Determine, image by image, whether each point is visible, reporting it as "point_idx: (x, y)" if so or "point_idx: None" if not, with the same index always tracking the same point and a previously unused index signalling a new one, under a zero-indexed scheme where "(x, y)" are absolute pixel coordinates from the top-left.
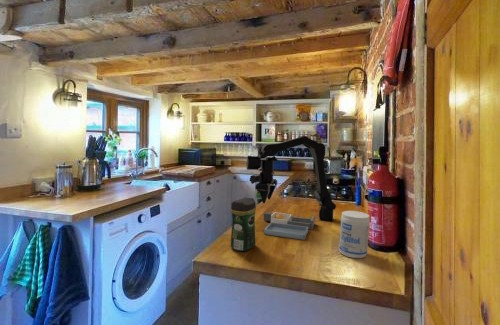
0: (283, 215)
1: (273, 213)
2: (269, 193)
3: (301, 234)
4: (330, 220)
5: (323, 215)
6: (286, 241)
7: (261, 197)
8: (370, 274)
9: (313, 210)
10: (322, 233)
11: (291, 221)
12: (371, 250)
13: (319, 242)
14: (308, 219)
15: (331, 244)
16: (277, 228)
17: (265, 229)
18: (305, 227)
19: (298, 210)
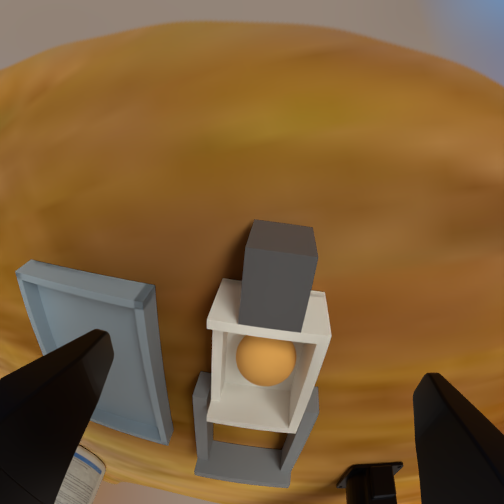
0: (298, 386)
1: (280, 335)
2: (448, 472)
3: None
4: (338, 485)
5: (355, 488)
6: (31, 346)
7: (11, 376)
8: None
9: (499, 425)
10: (177, 455)
11: (198, 411)
12: (122, 480)
13: (91, 427)
14: (283, 461)
15: (99, 443)
16: (117, 327)
17: (19, 278)
18: (160, 437)
19: None
